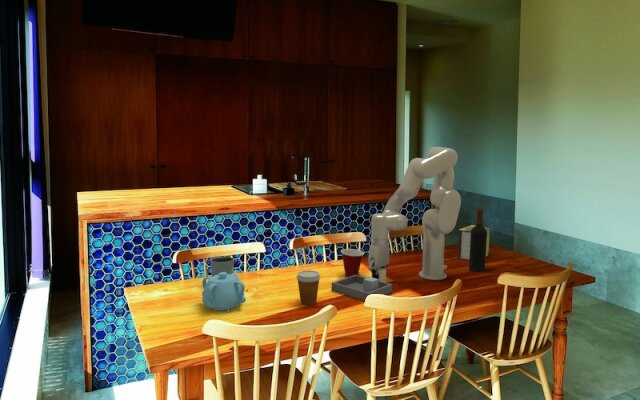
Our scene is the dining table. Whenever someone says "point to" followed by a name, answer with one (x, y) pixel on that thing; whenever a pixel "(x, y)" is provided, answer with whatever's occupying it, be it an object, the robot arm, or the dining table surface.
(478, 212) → the wine bottle
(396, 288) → the dining table surface
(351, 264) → the plastic cup
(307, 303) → the disposable coffee cup
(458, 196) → the robot arm
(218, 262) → the drinking glass
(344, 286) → the tray
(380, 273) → the cream block
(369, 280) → the blue block
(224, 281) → the decorative pot
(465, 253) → the protein box
